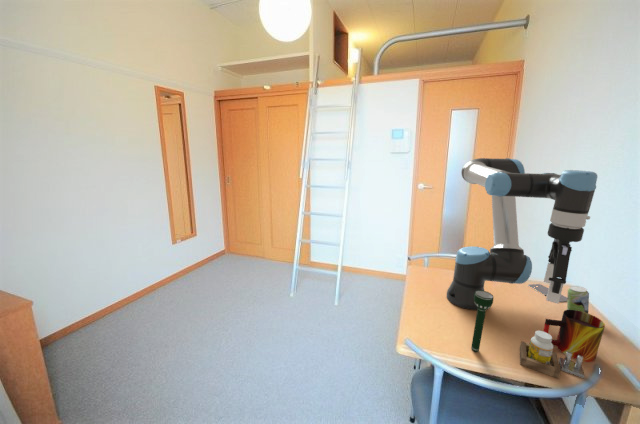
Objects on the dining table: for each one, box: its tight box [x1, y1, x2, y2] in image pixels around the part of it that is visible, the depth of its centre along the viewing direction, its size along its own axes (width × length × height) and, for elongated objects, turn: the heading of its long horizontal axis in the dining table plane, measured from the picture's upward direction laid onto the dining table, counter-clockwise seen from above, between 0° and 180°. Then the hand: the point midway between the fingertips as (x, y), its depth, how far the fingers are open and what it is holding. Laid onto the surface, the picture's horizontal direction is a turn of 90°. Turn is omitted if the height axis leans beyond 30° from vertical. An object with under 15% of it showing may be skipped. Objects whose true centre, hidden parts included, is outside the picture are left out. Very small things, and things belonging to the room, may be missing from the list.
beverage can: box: [566, 285, 590, 314], centre depth 107 cm, size 6×7×12 cm
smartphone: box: [527, 283, 568, 303], centre depth 126 cm, size 7×1×15 cm
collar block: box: [519, 340, 562, 379], centre depth 84 cm, size 9×9×2 cm
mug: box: [542, 309, 606, 363], centre depth 88 cm, size 10×14×12 cm
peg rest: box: [558, 351, 585, 379], centre depth 81 cm, size 5×5×5 cm
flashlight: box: [470, 290, 494, 353], centre depth 87 cm, size 5×5×20 cm
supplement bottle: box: [526, 330, 554, 365], centre depth 83 cm, size 5×5×10 cm
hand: (550, 291), depth 84 cm, fingers open, 13 cm apart
